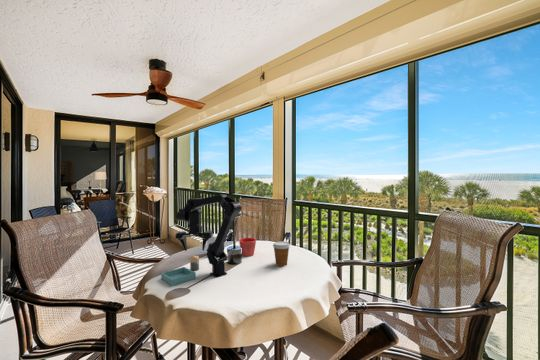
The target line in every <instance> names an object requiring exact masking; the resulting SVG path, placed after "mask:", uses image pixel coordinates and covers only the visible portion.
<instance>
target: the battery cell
mask: <svg viewBox="0 0 540 360" xmlns="http://www.w3.org/2000/svg"><path fill="white" fill-rule="evenodd" d="M189 258H190V259H189V266H190V269H189V270H191V271H193V272H196V271H197V272H198V271H199V270H200V263H199V262H200V257H199V255H191V256H190V257H189Z"/></svg>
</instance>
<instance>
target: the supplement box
mask: <svg viewBox="0 0 540 360" xmlns="http://www.w3.org/2000/svg"><path fill="white" fill-rule="evenodd" d="M217 235H218V233H213V236H212V237H211V238H209V239H208V240H207V242H206V250H207V249H208V246H209V244H210V243H213V242H215V240H216V237H217Z"/></svg>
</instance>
